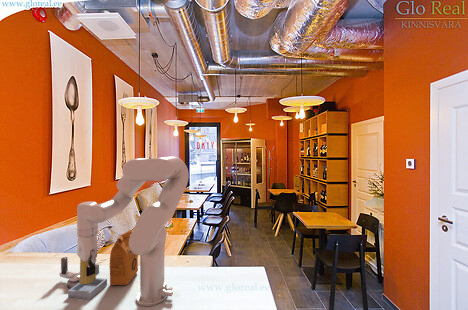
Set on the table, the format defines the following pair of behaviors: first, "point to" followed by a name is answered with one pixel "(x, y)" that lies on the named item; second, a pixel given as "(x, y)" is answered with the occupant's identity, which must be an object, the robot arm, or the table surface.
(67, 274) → the crank
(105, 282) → the tray
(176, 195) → the robot arm
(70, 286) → the disc
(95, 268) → the post
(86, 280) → the vase
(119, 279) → the coffee package
